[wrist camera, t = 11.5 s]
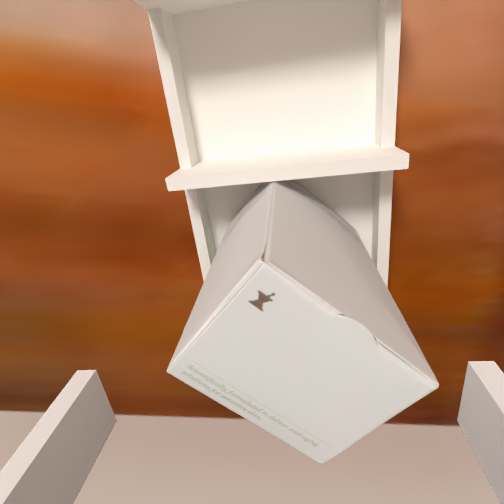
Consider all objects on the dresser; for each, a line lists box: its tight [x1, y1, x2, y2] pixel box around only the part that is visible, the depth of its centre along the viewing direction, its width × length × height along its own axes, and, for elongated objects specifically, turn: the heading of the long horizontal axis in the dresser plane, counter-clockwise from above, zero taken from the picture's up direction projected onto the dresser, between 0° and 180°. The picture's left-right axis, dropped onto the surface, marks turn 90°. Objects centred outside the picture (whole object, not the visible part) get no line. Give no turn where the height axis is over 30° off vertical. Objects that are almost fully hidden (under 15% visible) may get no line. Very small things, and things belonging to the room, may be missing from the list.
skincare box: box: [167, 179, 439, 464], centre depth 19 cm, size 8×7×16 cm
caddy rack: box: [131, 0, 409, 287], centre depth 23 cm, size 14×22×6 cm, turn 7°
